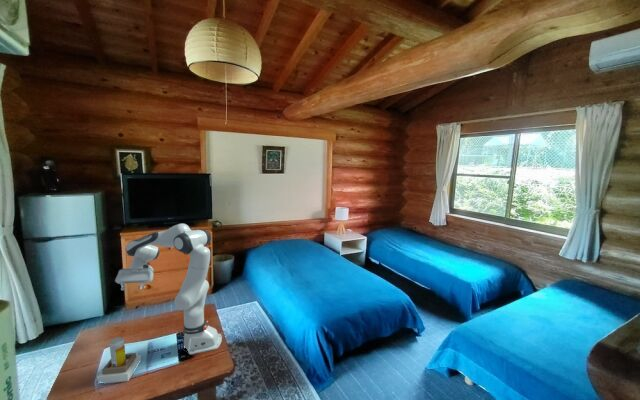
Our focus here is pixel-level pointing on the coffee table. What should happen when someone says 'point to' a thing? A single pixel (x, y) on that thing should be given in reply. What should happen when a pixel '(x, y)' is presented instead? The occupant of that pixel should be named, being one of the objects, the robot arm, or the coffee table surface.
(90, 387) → the coffee table surface
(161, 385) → the coffee table surface
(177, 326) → the coffee table surface
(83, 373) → the coffee table surface
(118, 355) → the beer can
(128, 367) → the display plinth
